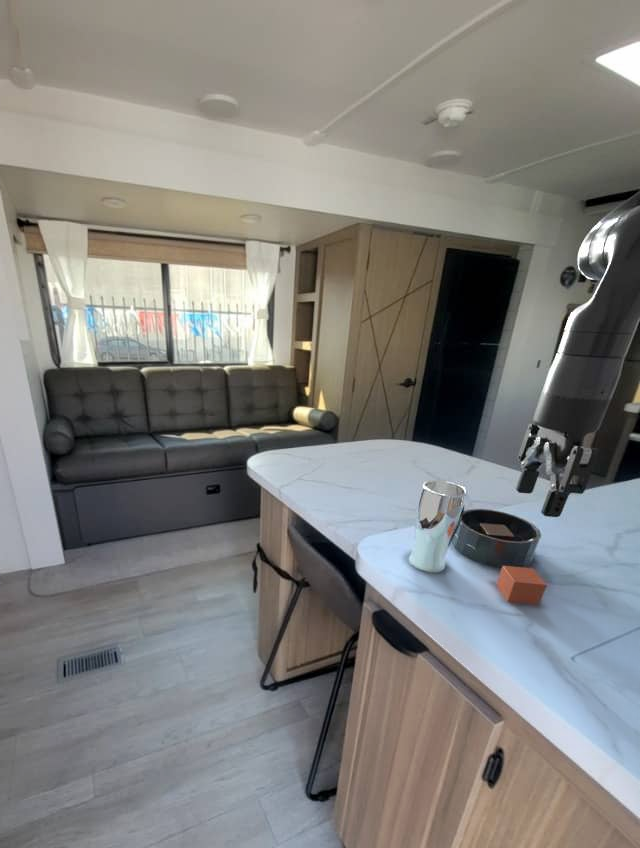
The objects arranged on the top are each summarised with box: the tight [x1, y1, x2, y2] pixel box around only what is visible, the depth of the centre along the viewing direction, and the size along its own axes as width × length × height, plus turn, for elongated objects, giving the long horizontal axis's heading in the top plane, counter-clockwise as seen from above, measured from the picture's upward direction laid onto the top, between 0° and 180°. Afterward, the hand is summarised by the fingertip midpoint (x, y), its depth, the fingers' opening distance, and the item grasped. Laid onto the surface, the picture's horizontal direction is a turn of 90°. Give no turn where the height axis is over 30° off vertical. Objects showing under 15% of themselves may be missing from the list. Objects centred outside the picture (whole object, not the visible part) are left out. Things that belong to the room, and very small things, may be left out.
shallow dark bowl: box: [451, 508, 542, 569], centre depth 75 cm, size 13×13×6 cm
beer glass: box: [408, 480, 468, 573], centre depth 68 cm, size 7×7×15 cm
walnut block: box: [477, 523, 515, 541], centre depth 75 cm, size 4×4×4 cm
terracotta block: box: [495, 566, 548, 606], centre depth 63 cm, size 4×4×4 cm
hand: (535, 503), depth 60 cm, fingers open, 8 cm apart
